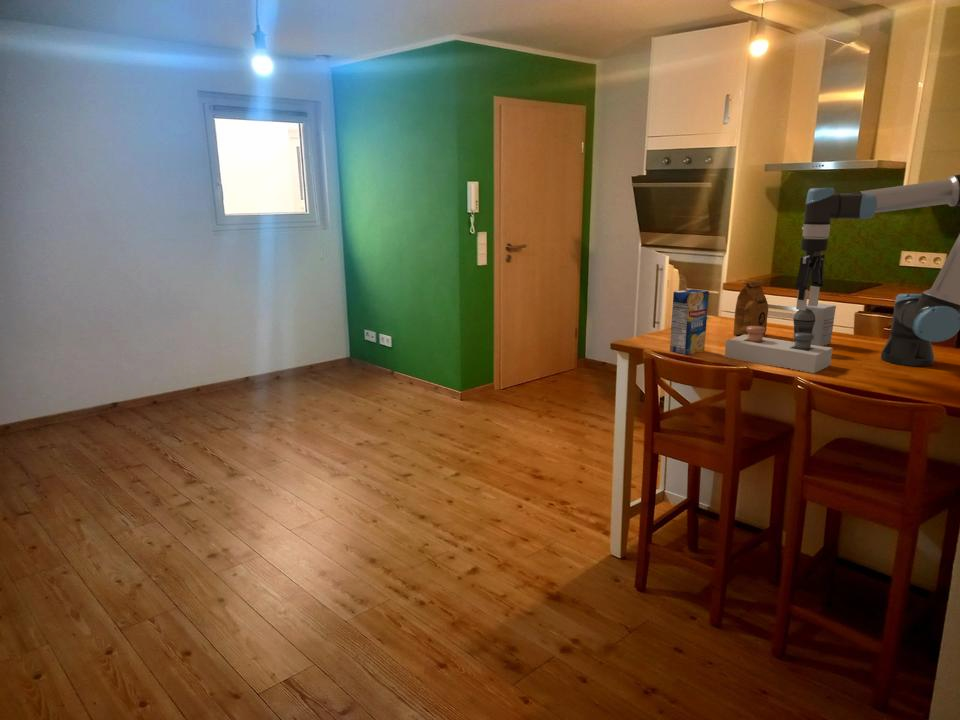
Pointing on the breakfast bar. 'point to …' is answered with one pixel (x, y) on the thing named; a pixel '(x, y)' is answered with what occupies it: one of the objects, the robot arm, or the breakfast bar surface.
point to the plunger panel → (779, 354)
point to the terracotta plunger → (755, 333)
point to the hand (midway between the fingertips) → (806, 307)
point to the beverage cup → (804, 321)
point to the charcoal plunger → (803, 341)
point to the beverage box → (689, 321)
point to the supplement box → (822, 323)
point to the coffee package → (750, 308)
